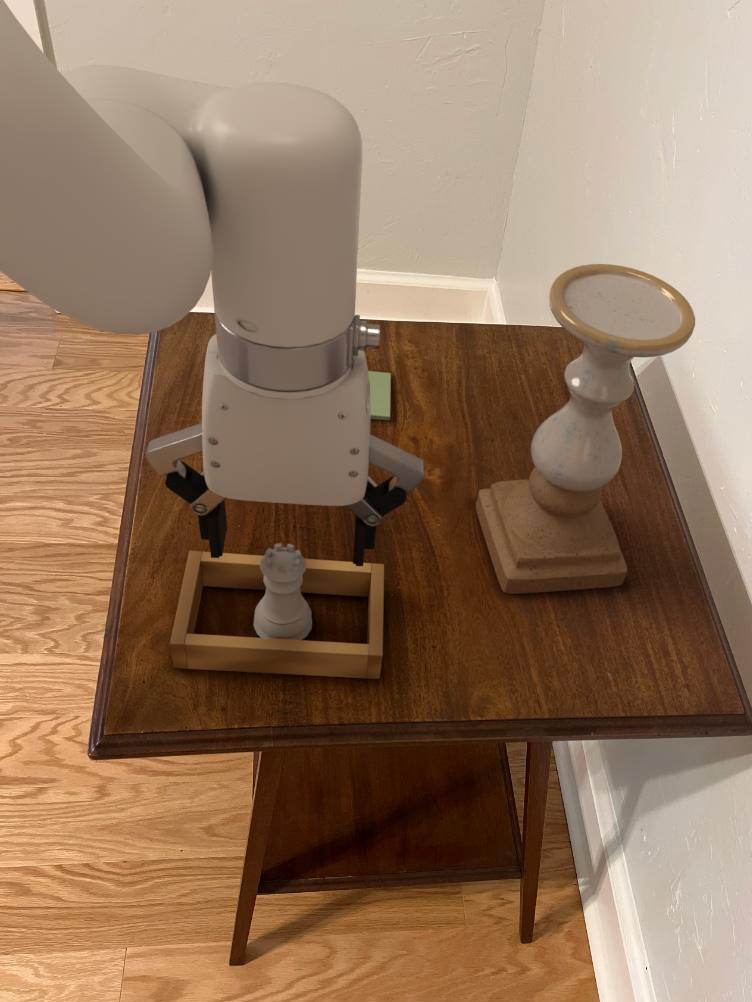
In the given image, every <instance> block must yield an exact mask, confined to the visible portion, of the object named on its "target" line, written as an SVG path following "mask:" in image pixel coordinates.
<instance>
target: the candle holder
mask: <svg viewBox="0 0 752 1002" xmlns="http://www.w3.org/2000/svg"><path fill="white" fill-rule="evenodd" d="M548 294H549V295H548V302H549V308H550V311H551V313H552V315H553V317H554V319H555V320H556V322H557V323H558V324H559V325H560V327H561V328H562V329H564V330H565V331H566V332H567V333H568V334H569V335H571V336H572V337H574V338H575V339H577V340H579V341H580V342H582V343H583V349H582V353H580V355H579V356H578V357H577V358H575V359H574V360H572V361H570V362H569V363H568V364H567V366H566V368H565V369H564V377H563V378H564V381H565V384H566V385H567V390H568V392H569V394H570V397H569V400H568V401H567V402H566V403H565V404H564V405H563V406H562V407H561V408H559V409H558V410H557V411H555V412H553V413H552V414H550V415H549V416H548V417H547V418H546V419H545V420H544V421H542V422H541V424H540V425H539V426H538V427H537V429H536V430H535V432H534V434H533V436H532V439H531V443H530V448H529V449H530V458H531V462H532V463H533V465H534V468H533V469H532V470H531V472H530V475H529V477H528V479H513V480H502V481H497V482H494V483H491V485H490V488H482V489H479V491H478V494H477V499H476V502H475V510H476V514H477V518H478V521H479V524H480V528H481V531H482V534H483V537H484V540H485V543H486V546H487V550H488V553H489V556H490V559H491V562H492V565H493V569H494V572H495V576H496V578H497V582H498V583H499V586H500V588H501V591H502V592H503V593H504V594H508V595H514V594H515V595H516V594H518V595H519V594H537V593H550V592H563V591H564V592H565V591H577V590H592V589H604V588H612V587H613V588H614V587H619V586H622V585H623V583H624V581H625V579H626V576H627V573H628V566H627V564H626V560H625V557H624V555H623V552H622V550H621V547H620V544H619V541H618V537H617V535H616V533H615V529H614V528H613V527H614V526H613V525H612V522H611V520H610V518H609V515H608V513H607V510H606V509H605V506H604V504H603V502H602V500H601V498H602V494H603V487H605V486H606V485H608V484H609V483H610V482H612V480H614V478H615V477H616V476H617V474H618V473H619V470H620V468H621V465H622V460H623V447H622V441H621V437H620V435H619V432H618V430H617V427H616V424H615V422H614V421H615V420H614V418H613V417H614V416H613V412H614V409H615V408H616V407H617V406H619V405H621V403H623V402H625V401H627V400H628V399H629V398H630V397H631V395H632V394H633V392H634V388H635V382H634V378H633V377H632V374H631V372H630V364H631V362H632V360H633V359H634V358H654V357H662V356H665V355H668V354H671V353H673V352H675V351H677V350H679V349H681V348H682V347H683V346H685V345H686V344H687V343H688V342H689V340H690V339H691V337H692V335H693V334H694V330H695V327H696V315H695V312H694V309H693V308H692V306H691V304H690V302H689V301H688V300H687V298H686V297H685V296H684V295H683V294H682V293H681V292H680V291H679V290H678V289H676V288H675V287H674V286H672V285H671V284H669V283H667V282H666V281H664V280H663V279H662V278H661V279H660V278H659V277H657V276H655V275H653V274H650V273H648V272H645V271H642V270H639V269H636V268H632V267H627V266H625V265H623V266H622V265H617V264H611V263H610V264H608V263H590V264H583V265H578V266H575V267H572V268H570V269H567V270H565V271H564V272H562V273H561V274H559V275H558V276H556V278H555V279H554V280H553V282H552V283H551V286H550V289H549V293H548Z"/></svg>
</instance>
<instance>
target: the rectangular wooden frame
mask: <svg viewBox="0 0 752 1002" xmlns="http://www.w3.org/2000/svg"><path fill="white" fill-rule="evenodd" d="M187 554H188V555H187V559H186V565H185V569H184V574H183V579H182V583H181V588H180V591H179V592H180V593H179V598H178V602H177V607H176V608H177V609H176V612H175V616H174V622H173V625H172V626H173V627H172V631H171V635H170V642H169V647H170V653H171V654H170V655H171V660H172V666H173V669H183V670H200V671H201V670H203V671H219V672H220V671H222V672H223V671H224V672H242V673H257V674H258V673H259V674H276V675H294V676H295V675H297V676H315V677H332V678H353V679H369V680H371V679H372V680H380V677H381V670H382V664H383V663H382V662H383V657H384V609H385V608H384V607H385V605H384V604H385V564H384V563H373V562H363V566H356V564H353V561H346V560H345V561H343V560H342V561H341V560H329V559H316V558H315V559H314V558H304V559H305V561H306V570H305V572H304V573H303V575H302V577H303V581H302V584H301V586H300V591H301V594H302V593H305V594H318V595H331V596H332V595H335V596H348V597H349V596H350V597H364V598H365V597H366V598H368V602H367V603H368V607H367V637H366V643H355V642H337V641H320V640H305V639H302V640H288V639H271V638H261V637H252V636H251V637H250V636H234V635H220V634H200V633H195V631H196V627H197V626H196V625H197V622H198V615H199V610H200V604H201V599H202V594H203V589H204V587H209V588H210V587H211V588H212V587H213V588H227V589H242V590H243V589H244V590H256V591H257V590H259V591H266V586H265V583H264V581H263V580H264V574H263V573H262V571H261V569H260V561H261V559H262V558H263V556H264V555H259V554H258V555H257V554H245V553H244V554H243V553H242V554H241V553H228V552H223V555H222V556H220V557H219V558H211V553H210V551H200V550H189V551H188V553H187Z"/></svg>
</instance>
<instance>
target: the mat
mask: <svg viewBox="0 0 752 1002" xmlns="http://www.w3.org/2000/svg"><path fill="white" fill-rule="evenodd" d="M368 375H369V383H370V399H371V420H378V421H379V420H380V421H391V401H392V400H391V398H392V397H391V396H392V395H391V392H392V373H391V372H383V371H374V370H368Z"/></svg>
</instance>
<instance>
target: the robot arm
mask: <svg viewBox="0 0 752 1002" xmlns="http://www.w3.org/2000/svg"><path fill="white" fill-rule="evenodd" d="M361 134H362V133H361V131H360V128H359V125H358V123H357V121H356V119H355V117H354V115H353V114H352V113H351V111H349V109H348V108H347V107H346V106H345V105H344V104H342V103H341V102H340V101H338V100H337V99H336V98H335V97H332V96H331V95H329V94H327V93H325V92H323V91H320V90H318V89H314V88H311V87H307V86H304V85H299V84H292V83H286V82H255V83H249V84H248V83H247V84H242V85H237V86H235V87H228V86H221V85H215V84H210V83H204V82H198V81H194V80H188V79H183V78H179V77H175V76H170V75H165V74H161V73H156V72H151V71H147V70H141V69H137V68H132V67H126V66H119V65H112V64H111V65H110V64H109V65H108V64H91V65H81V66H77V67H74V68H71V69H68V70H66V71H64V72H60V71H59V70H58V68H57V67H56V66H55V65H54V63H52V61H51V60H50V59H49V57H48V56H47V55H46V54H45V53H44V52H43V50H42V49H41V48H40V47H39V46H38V44H37V43H36V42H35V40H34V39H33V38H32V36H31V35H30V34H29V33H28V32H27V30H26V29H25V28H24V26H23V25H22V24H21V23H20V21H19V20H18V18H17V17H16V16H15V14H14V13H13V12H12V10H11V8H10V7H9V6H8V5H7V3H6V1H5V0H0V272H1V273H2V274H4V275H5V276H6V277H8V279H10V280H11V281H13V283H15V284H17V286H19V287H20V288H22V289H23V290H24V291H26V292H27V293H28V294H30V295H32V296H33V297H35V298H36V299H37V300H38V301H40V302H41V303H44V305H46V306H48V307H49V308H51V309H52V310H53V311H56V312H58V313H60V314H61V315H63V316H65V317H67V318H69V319H70V320H73V321H75V322H77V323H79V324H81V325H84V326H87V327H89V328H92V329H95V330H98V331H101V332H104V333H110V334H115V335H128V336H129V335H131V336H132V335H133V336H135V335H136V336H139V335H147V334H154V333H156V332H160V331H162V330H165V329H167V328H170V327H171V326H173V325H175V324H176V323H178V322H179V321H181V320H183V319H184V318H185V317H186V316H187V315H188V314H189V313H191V311H193V309H194V308H195V307H196V306H197V304H198V303H199V301H200V299H201V298H202V297H203V295H204V293H205V292H206V288H207V286H208V283H209V280H210V277H211V287H212V298H213V310H214V322H215V324H214V325H215V334H214V335H212V336H211V337H210V339H209V341H208V343H207V348H206V352H205V360H204V367H203V368H204V370H203V380H202V381H203V382H202V398H201V422H200V423H198V424H195V425H192V426H189V427H186V428H182V429H180V430H177V431H174V432H171V433H167V434H165V435H162V436H159V437H156V438H153V439H151V440H150V441H149V442H148V445H147V448H146V452H145V459H146V461H147V462H148V464H149V465H150V466H151V467H152V469H153V470H154V471H155V472H156V473H157V474H158V476H159V477H162V478H163V480H164V484H165V487H166V488H167V489H168V490H170V491H171V492H172V493H174V494H175V495H177V496H178V497H179V498H181V499H183V500H184V501H185V502H187V503H188V504H190V511H191V512H192V513H193V514H194V515H197V518H198V527H199V534H200V540H204V541H205V540H207V541H208V543H209V552H210V553H211V558H219V557H220V556H222V555H223V553H224V549H225V542H226V537H227V532H228V531H227V530H228V521H227V519H228V518H227V512H226V511H227V509H226V499H230V500H237V501H245V502H246V501H247V502H259V503H260V502H261V503H271V504H272V503H274V504H287V505H290V504H291V505H306V506H321V507H322V506H326V507H344V506H346V507H347V508H348V509H349V510H350V511H351V512H352V513H353V514H354V515H355V516H354V517H355V518H354V536H353V553H352V554H353V555H352V562H353V564H356V566H363V563H364V561H365V559H364V558H365V550H375V546H376V545H375V544H376V533H377V526H379V525H380V524H381V523H382V518H383V517H384V516H387V514H389V513H391V512H392V511H395V510H396V509H398V508H400V507H401V506H402V505H404V504H405V503H406V501H407V497H408V496H409V495H410V494H412V493H413V492H414V490H416V489H417V487H418V486H419V485H420V484H421V482H423V480H424V478H425V462H424V460H423V459H422V458H420V457H418V456H416V455H414V454H412V453H409V452H407V451H405V450H403V449H402V448H400V447H397V446H395V445H394V444H392V443H389V442H388V441H385V440H383V439H381V438H379V437H378V436H375V435H373V434H371V423H372V422H371V420H372V419H371V399H370V383H369V375H368V371H369V367H368V362H367V357H366V353H365V352H366V350H380V340H381V339H380V337H381V324H371V323H370V324H369V323H368V321H364V320H361V315H360V314H356V301H357V299H356V297H357V279H358V277H357V276H358V275H357V274H358V252H359V250H358V249H359V248H358V247H359V232H360V231H359V230H360V214H361V213H360V212H361V196H362V195H361V193H362V191H361V190H362V173H363V140H362V135H361ZM201 453H202V466H203V467H202V468H203V471H201V473H199V472H198V471H197V470H195V469H194V468H193V467H192V466H190V465H189V464H187V463H186V462H184V461H182V460H183V459H185V458H189V457H192V456H195V455H198V454H201ZM369 465H372V466H373V467H376V468H377V469H381V471H384V472H387V473H389V474H390V475H393V476H391V477H389V478H387V479H386V480H383V482H380V483H379V484H378V483H376V481H374V480H373V479H372V478H371V476H369V468H370V466H369Z"/></svg>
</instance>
